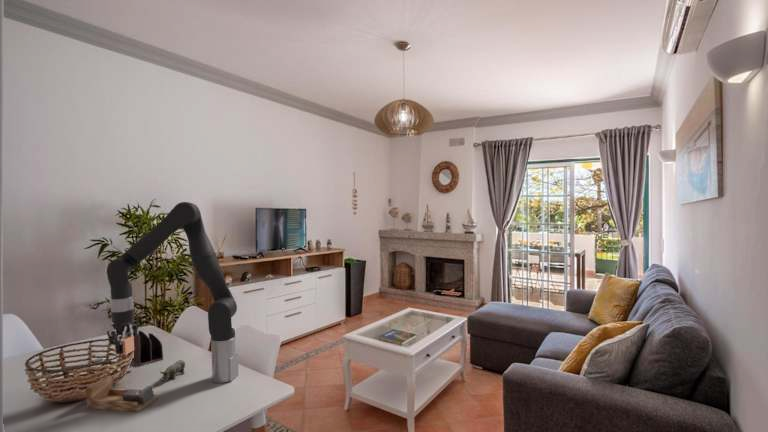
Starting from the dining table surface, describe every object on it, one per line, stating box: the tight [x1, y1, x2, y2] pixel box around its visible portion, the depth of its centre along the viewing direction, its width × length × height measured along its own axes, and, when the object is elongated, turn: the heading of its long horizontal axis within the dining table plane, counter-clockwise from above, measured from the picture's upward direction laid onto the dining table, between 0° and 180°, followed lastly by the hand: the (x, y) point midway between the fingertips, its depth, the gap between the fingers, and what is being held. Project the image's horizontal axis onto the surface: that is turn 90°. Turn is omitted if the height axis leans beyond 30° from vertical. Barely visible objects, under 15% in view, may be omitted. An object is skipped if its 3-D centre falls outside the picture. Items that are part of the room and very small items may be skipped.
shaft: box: [123, 385, 154, 404], centre depth 145 cm, size 8×4×4 cm, turn 83°
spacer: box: [114, 336, 134, 356], centre depth 157 cm, size 4×4×6 cm
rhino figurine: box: [159, 359, 186, 383], centre depth 165 cm, size 4×14×6 cm, turn 168°
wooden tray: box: [85, 376, 157, 413], centre depth 145 cm, size 20×9×8 cm, turn 83°
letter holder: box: [132, 330, 164, 367], centre depth 186 cm, size 10×20×14 cm, turn 45°
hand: (124, 350), depth 157 cm, fingers closed on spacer, 4 cm apart
